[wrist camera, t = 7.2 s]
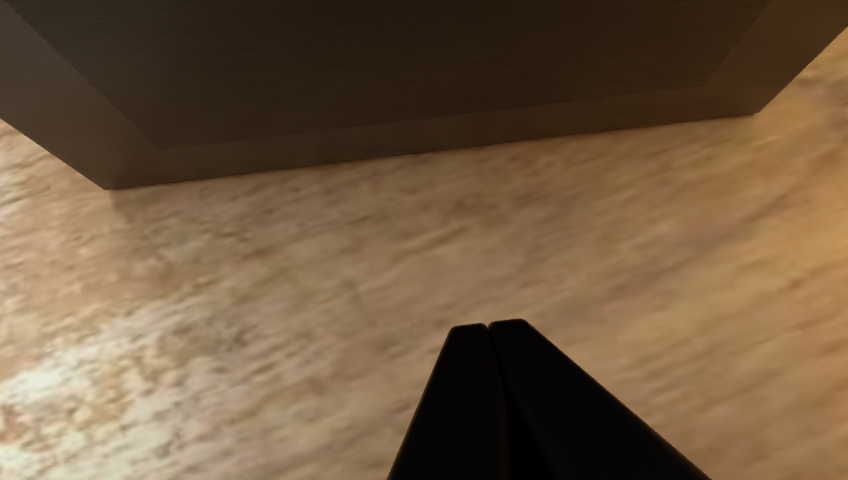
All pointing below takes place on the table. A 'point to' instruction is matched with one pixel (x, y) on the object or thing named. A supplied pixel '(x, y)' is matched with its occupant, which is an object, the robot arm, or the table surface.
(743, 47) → the oven door
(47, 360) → the table surface
